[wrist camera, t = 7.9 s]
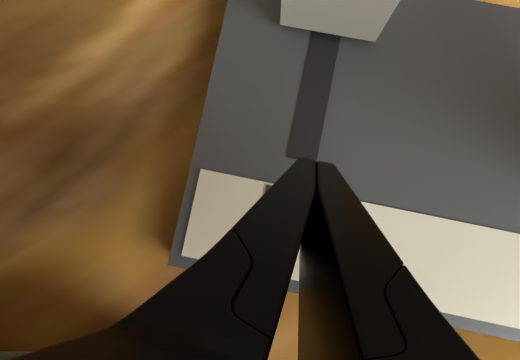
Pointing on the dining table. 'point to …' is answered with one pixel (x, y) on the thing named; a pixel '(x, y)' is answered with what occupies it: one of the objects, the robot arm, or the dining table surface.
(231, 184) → the switch bank
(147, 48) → the dining table surface
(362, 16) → the lever
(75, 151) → the dining table surface
